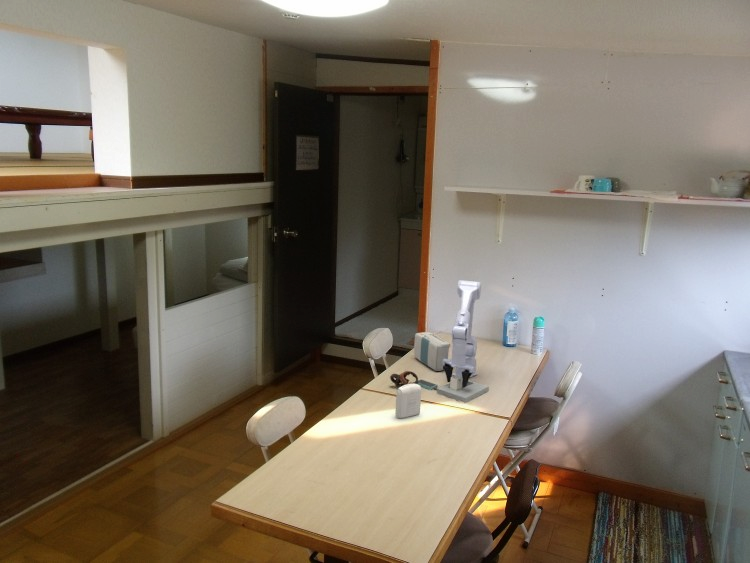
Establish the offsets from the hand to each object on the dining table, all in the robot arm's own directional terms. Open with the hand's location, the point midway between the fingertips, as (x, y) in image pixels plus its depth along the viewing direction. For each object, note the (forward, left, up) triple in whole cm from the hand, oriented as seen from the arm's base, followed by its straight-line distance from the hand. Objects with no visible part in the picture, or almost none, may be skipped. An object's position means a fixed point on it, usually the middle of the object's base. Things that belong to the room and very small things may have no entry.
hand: (456, 384), depth 260 cm
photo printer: (+33, 0, -4) cm, 33 cm away
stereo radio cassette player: (-20, -28, -4) cm, 35 cm away
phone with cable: (+4, -11, -3) cm, 13 cm away
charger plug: (+1, 0, -3) cm, 3 cm away
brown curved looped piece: (+12, -19, -4) cm, 23 cm away
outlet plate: (-2, +2, -4) cm, 4 cm away
